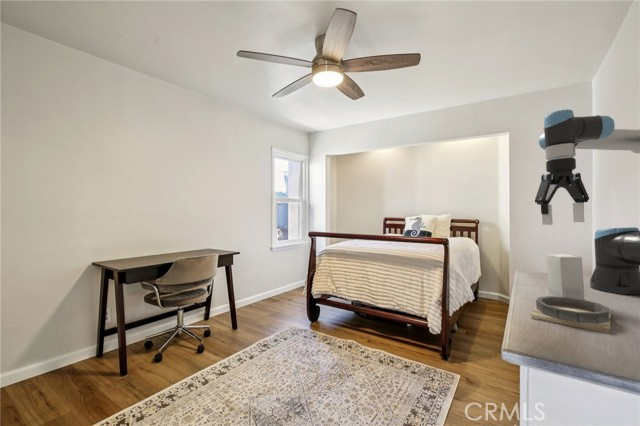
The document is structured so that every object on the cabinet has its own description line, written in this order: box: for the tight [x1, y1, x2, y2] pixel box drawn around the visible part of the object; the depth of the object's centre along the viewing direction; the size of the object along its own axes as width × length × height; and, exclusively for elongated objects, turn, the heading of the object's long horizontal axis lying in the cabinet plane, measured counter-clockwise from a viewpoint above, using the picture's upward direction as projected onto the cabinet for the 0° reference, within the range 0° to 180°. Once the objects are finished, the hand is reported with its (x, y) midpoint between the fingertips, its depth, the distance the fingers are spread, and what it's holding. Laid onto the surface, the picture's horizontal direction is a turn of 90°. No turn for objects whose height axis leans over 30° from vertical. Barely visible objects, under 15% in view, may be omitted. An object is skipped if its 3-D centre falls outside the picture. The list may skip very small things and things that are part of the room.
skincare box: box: [545, 253, 586, 300], centre depth 96 cm, size 8×7×16 cm
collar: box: [530, 295, 612, 334], centre depth 83 cm, size 16×16×4 cm
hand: (563, 223), depth 95 cm, fingers open, 13 cm apart
